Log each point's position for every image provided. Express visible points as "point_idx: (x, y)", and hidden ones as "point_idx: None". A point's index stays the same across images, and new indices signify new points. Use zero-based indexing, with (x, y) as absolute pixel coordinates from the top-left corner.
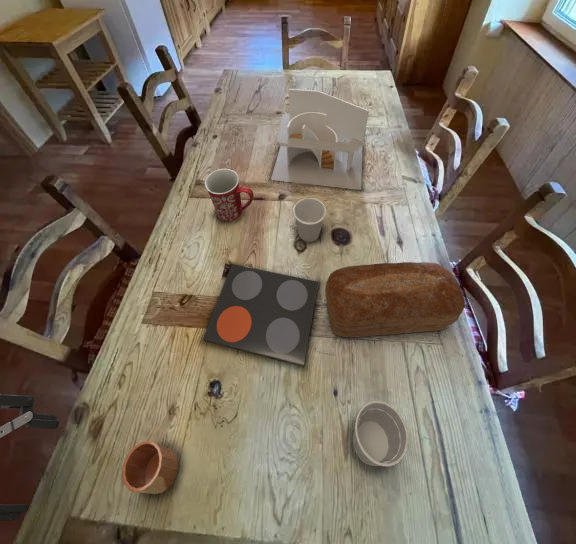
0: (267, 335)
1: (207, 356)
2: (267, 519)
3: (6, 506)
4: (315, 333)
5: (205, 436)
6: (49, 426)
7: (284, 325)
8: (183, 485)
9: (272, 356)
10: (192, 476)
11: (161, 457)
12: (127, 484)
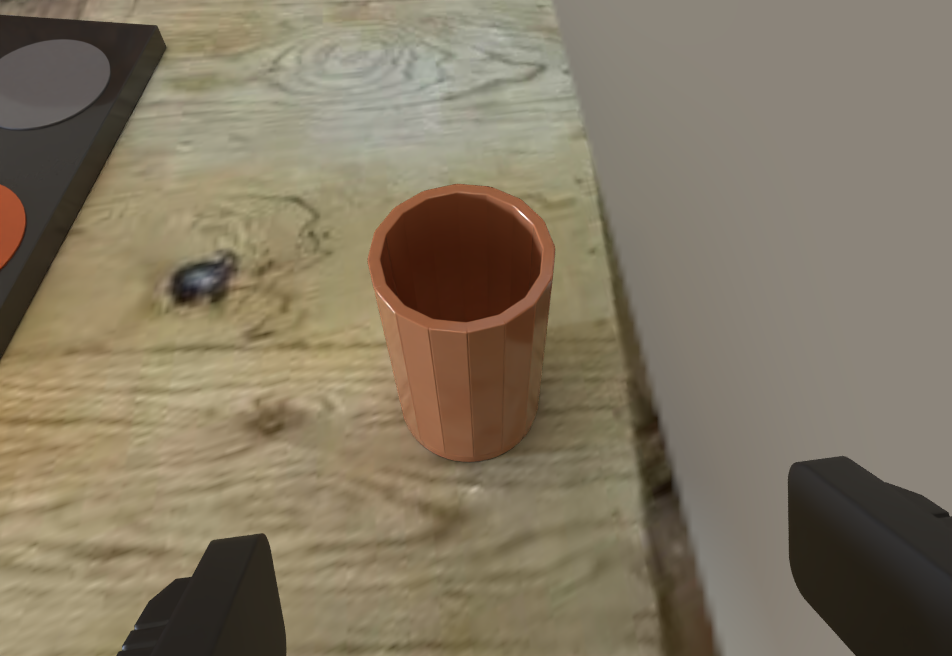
0: (30, 123)
1: (68, 339)
2: (540, 90)
3: (910, 532)
4: None
5: (358, 277)
6: (247, 567)
7: (6, 79)
8: None
9: (112, 102)
10: None
11: (427, 191)
12: (536, 286)
